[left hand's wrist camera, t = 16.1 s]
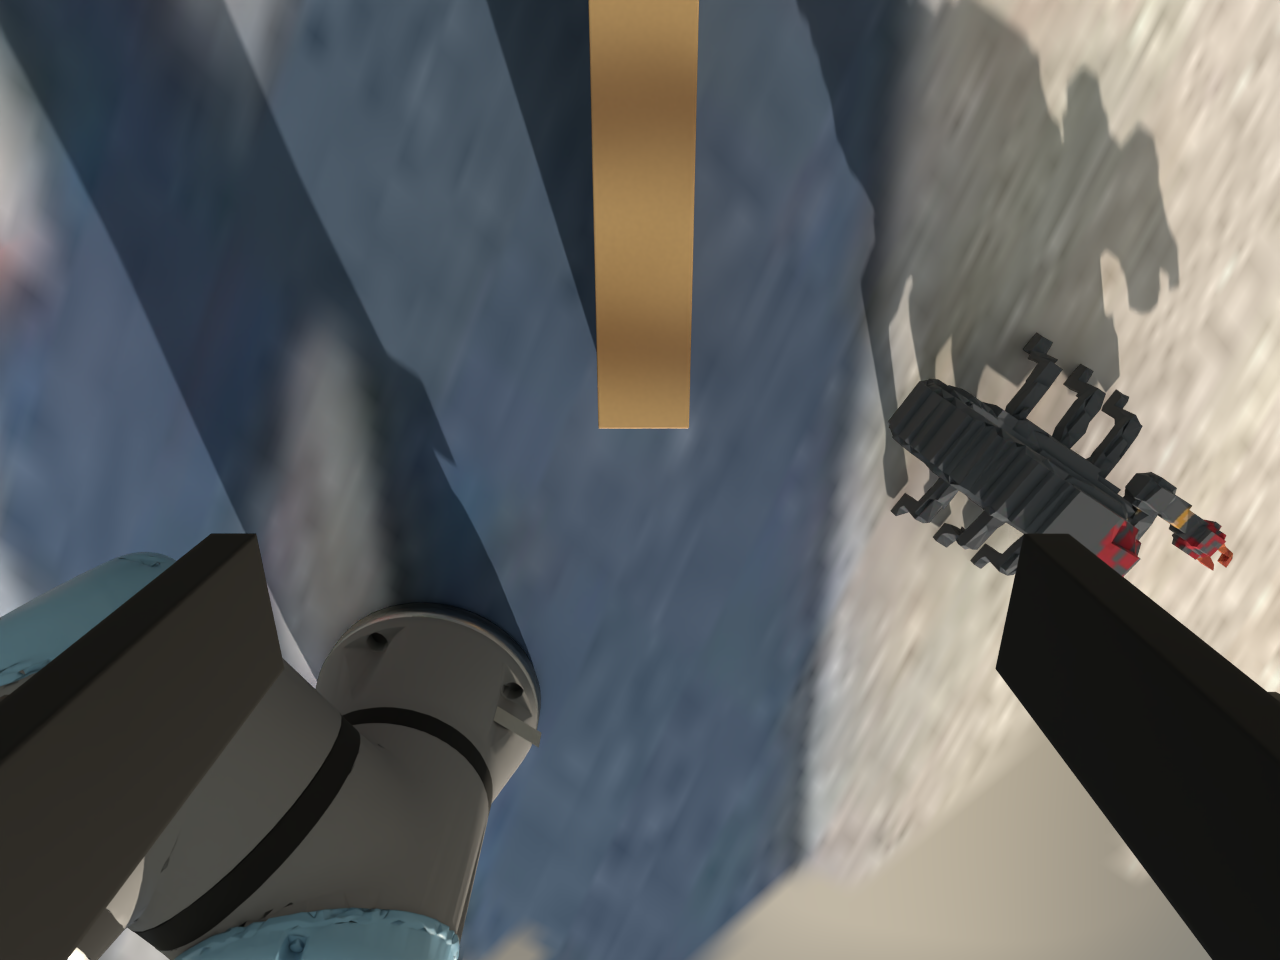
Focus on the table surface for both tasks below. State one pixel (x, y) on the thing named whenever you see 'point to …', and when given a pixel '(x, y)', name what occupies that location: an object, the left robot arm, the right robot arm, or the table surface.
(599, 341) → the beam
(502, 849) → the table surface
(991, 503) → the toy
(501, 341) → the table surface
